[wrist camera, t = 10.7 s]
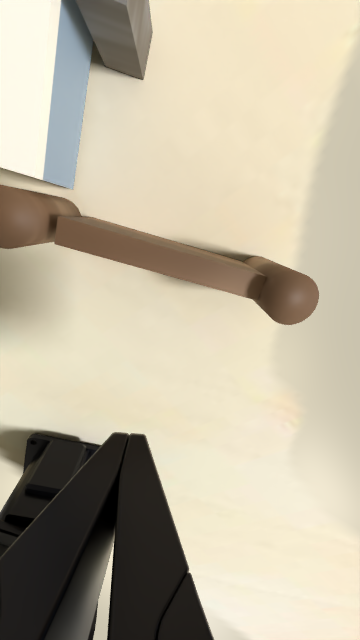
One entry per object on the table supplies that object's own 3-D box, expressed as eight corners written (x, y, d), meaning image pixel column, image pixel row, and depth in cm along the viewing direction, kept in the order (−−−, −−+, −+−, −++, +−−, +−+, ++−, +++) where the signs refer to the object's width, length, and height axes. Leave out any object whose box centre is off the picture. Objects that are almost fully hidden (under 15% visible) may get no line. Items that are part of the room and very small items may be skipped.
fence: (265, 296, 18) (304, 330, 13) (39, 233, 17) (-30, 239, 11) (342, 103, 15) (447, 30, 9) (63, -2, 13) (-22, -172, 7)
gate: (47, 181, 15) (-13, 163, 10) (80, -133, 11) (8, -400, 6) (78, 191, 16) (34, 177, 11) (122, -115, 12) (84, -359, 7)
